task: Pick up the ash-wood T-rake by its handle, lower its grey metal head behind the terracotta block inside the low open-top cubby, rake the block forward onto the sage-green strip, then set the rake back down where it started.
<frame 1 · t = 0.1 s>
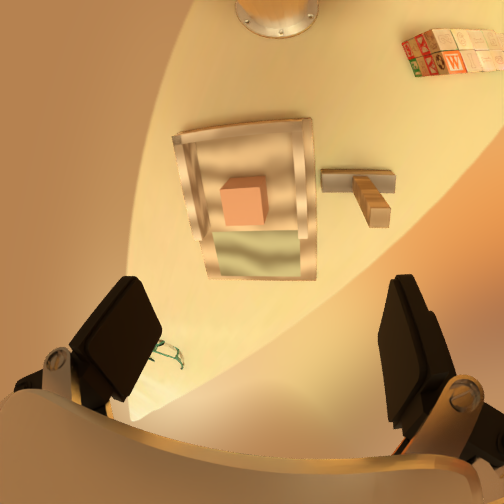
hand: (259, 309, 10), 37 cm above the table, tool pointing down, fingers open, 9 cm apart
stack of blocks: (455, 55, 25), on the table
block: (249, 193, 45), point 1 cm above the table, touching cubby
cubby: (252, 208, 47), on the table
sunglasses: (164, 351, 79), on the table
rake: (356, 178, 41), on the table
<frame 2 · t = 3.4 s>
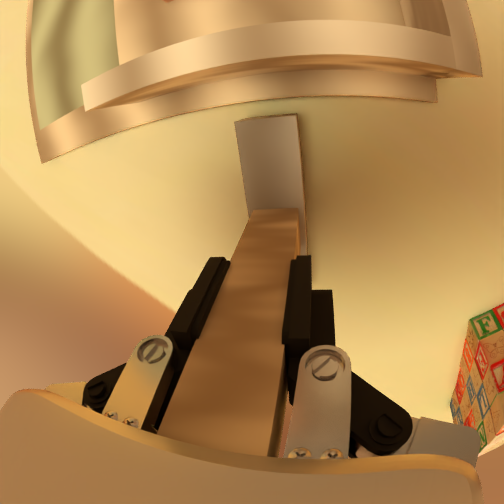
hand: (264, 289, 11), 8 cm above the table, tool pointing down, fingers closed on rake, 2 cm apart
stack of blocks: (477, 362, 23), on the table
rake: (282, 208, 17), on the table, touching gripper
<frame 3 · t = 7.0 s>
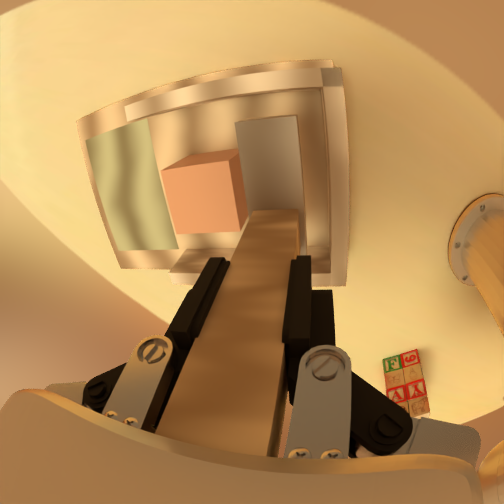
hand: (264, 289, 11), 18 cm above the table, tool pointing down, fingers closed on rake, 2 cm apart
stack of blocks: (402, 382, 41), on the table
block: (221, 179, 27), point 1 cm above the table, touching cubby
cubby: (197, 179, 28), on the table
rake: (282, 209, 17), point 10 cm above the table, touching gripper
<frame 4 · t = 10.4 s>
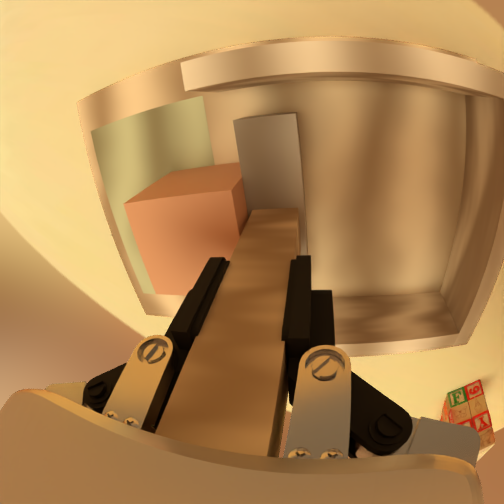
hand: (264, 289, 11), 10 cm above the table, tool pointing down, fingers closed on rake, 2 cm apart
stack of blocks: (455, 409, 32), on the table
block: (218, 206, 19), point 1 cm above the table
cubby: (281, 199, 19), on the table
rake: (282, 208, 17), point 2 cm above the table, touching gripper
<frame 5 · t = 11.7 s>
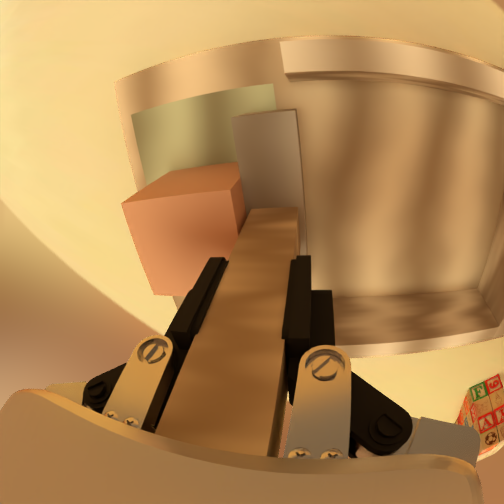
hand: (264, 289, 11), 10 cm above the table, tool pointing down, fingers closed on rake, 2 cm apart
stack of blocks: (473, 404, 31), on the table
block: (217, 206, 19), point 1 cm above the table, touching cubby, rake
cubby: (345, 198, 18), on the table
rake: (281, 206, 17), point 2 cm above the table, touching block, gripper
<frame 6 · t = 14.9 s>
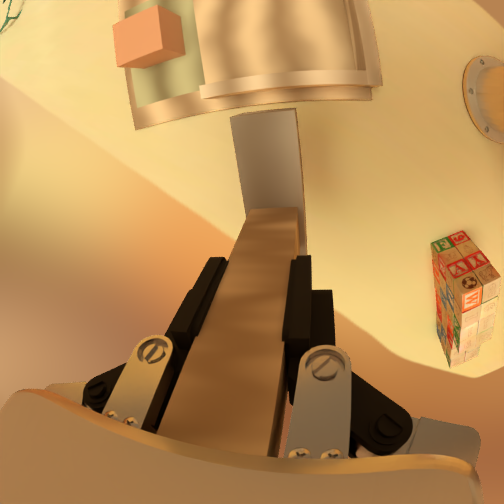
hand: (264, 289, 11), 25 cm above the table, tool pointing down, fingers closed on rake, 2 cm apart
stack of blocks: (449, 287, 36), on the table
block: (161, 42, 24), point 1 cm above the table, touching cubby
cubby: (231, 26, 23), on the table
sunglasses: (14, 5, 17), on the table
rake: (280, 206, 17), point 17 cm above the table, touching gripper
when the fingers open (10 cm above the table, at t = 17.9 s): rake drops 2 cm, on the table.
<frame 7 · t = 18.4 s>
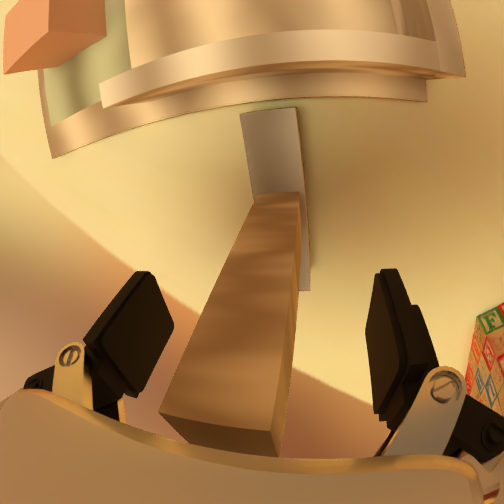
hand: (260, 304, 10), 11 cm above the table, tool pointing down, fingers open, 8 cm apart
stack of blocks: (484, 355, 24), on the table
block: (78, 24, 12), point 1 cm above the table, touching cubby
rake: (284, 195, 18), on the table
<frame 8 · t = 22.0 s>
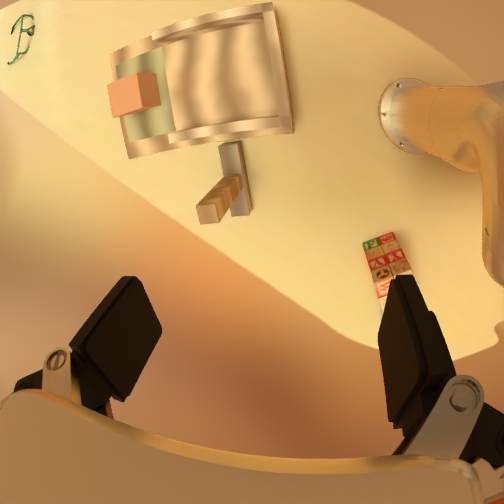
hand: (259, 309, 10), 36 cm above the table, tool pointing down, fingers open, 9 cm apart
stack of blocks: (388, 279, 50), on the table
block: (143, 93, 38), point 1 cm above the table, touching cubby
cubby: (192, 81, 37), on the table
sunglasses: (22, 39, 31), on the table
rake: (238, 176, 45), on the table
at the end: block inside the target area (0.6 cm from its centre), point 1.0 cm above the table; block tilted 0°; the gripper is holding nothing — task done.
